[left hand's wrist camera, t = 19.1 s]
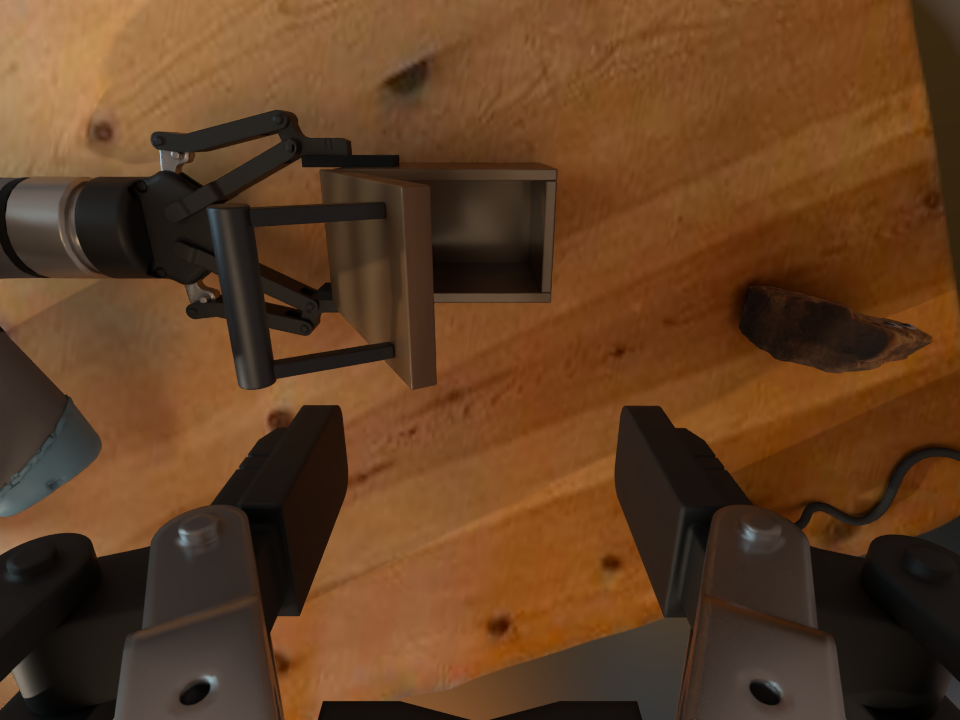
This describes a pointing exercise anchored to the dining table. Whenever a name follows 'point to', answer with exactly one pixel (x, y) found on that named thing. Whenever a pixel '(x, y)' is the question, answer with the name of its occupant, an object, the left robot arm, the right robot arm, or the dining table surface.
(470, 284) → the chest
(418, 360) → the lid
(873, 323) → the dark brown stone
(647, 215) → the dining table surface
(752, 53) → the dining table surface
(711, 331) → the dining table surface
